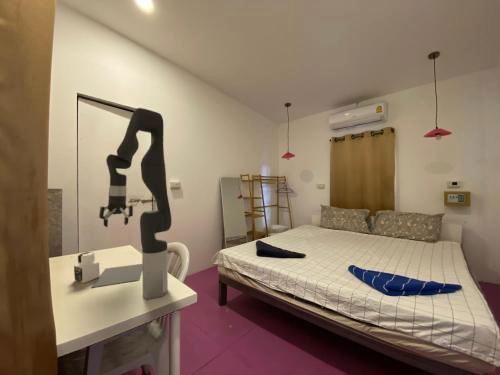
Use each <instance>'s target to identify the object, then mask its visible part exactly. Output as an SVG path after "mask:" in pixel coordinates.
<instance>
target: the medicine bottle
mask: <svg viewBox="0 0 500 375" xmlns="http://www.w3.org/2000/svg"><path fill="white" fill-rule="evenodd" d="M95 259H96V258H95V252H92V251H88V252H82V253H80V254H79V255H77V263H78V264H74V266H73V269H74V270H73V274H74V281H75V282H78V283H81V284H85V283H87V282H90V281H93V280H97V279H98V278H99V277H100V275H101V272H100V262H99V261H95Z"/></svg>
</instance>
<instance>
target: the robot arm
mask: <svg viewBox="0 0 500 375" xmlns="http://www.w3.org/2000/svg"><path fill="white" fill-rule="evenodd" d="M139 131H140V132H143V133H144V132H145V133H149V134H151V142H150V146H149V147H148V149H147V151H146V152H145V154H144V155H143V157H142V158H141V162H140V172H141V175H140V176H141V180H142V182H143V184H144V185H145V186H146V189H148V190H149V192H150V193H151V195H152V196H153V198H154V199H155V203H156V204H155V205H156V210H146V211H144V212H142V213H141V215H140V218H139V230H140V243H141V244H140V245H141V249H142V252H141V253H142V255H141V256H142V259H141V260H142V261H141V264H142V272H141V274H142V297H143V298H145V300H151V299H155V298H160V297H164V296H165V294H167V293H168V287H169V285H168V284H169V283H168V282H169V280H168V277H169V276H168V275H169V274H168V271H169V270H168V242H167V241H166V240H163V239H158V238H156V236H155V235H156V234H159V233H163V232H168V231H170V229H171V227H172V214H171V213H172V212H171V208H170V202H169V196H168V189H167V176H166V175H167V173H166V172H167V171H166V170H167V169H166V162H165V150H164V149H165V148H164V131H165V130H164V119H163V115H162V114H161V113H159V112H157V111H154V110H150V109H148V108H143V107H137V108H136V109H135V110H134V111H133V112H132V115H131V117H130V119H129V123H128V124H127V128H126V131H125V134H124V137H123V140H122V141H121V142H120V144H119V146H118V147H117V149H116V153H109V154H108V155H107V157H106V161H105V162H106V166H107V169H108V173H109V188H108V199H107V200H108V203H107V206H105V205H100V207H99V213H98V214H99V215H98V217H99V218H100V219H101V220H103V226H104V227H105V228H108V226H109V225H108V224H109V223H108V222H109V218H110V217H112V216H113V215H121V214H122V215H123V216H124V221H123V224H124V226H127V225H128V224H129V218H130V217H133V215H134V214H133V213H134V212H133V211H134V210H133V208H134V207H133V205H132V204H128V205H127V190H128V189H127V179H128V178H127V175H126V174H124V173H120V172H119V171H117V169H119V170H127V169H128V170H129V168H131V166H132V161H133V157H134V156H135V154H136V153H137V152H138V150H139V147H140V146H139V145H140V144H139V139H138V137H137V134H138V133H139ZM126 209H127V210H128V213H127V212H126ZM106 210H108V211H107V212H106ZM105 212H106V214H104V213H105Z"/></svg>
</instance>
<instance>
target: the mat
mask: <svg viewBox="0 0 500 375" xmlns="http://www.w3.org/2000/svg"><path fill="white" fill-rule="evenodd" d="M141 274H142V263H138V264H129V265H123V266H115V267H107V268H104V269H103V271H102V272H101V273H100V277H98V278H96V279H95V282H94V283H93V284H92V286H91V287H90V288H91V289H93V288H99V287H107V286H112V285H118V284H124V283H133V282H138V281H140V279H141Z"/></svg>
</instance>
